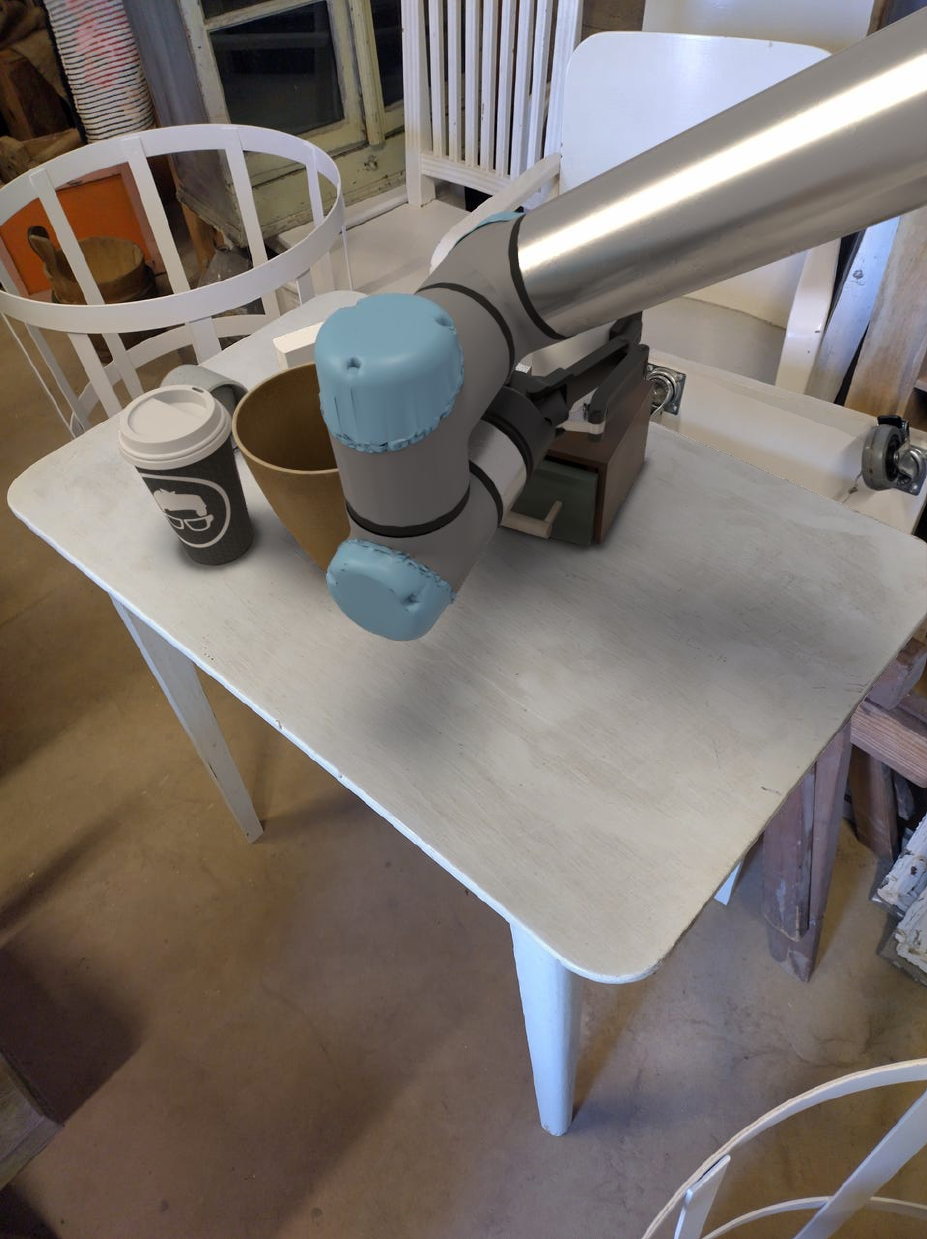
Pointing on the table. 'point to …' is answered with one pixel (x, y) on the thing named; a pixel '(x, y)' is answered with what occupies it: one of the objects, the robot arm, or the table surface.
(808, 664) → the table surface
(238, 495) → the coffee cup
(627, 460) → the cabinet
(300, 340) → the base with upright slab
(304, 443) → the plant pot
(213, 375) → the ceramic mug
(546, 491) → the drawer
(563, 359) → the can
